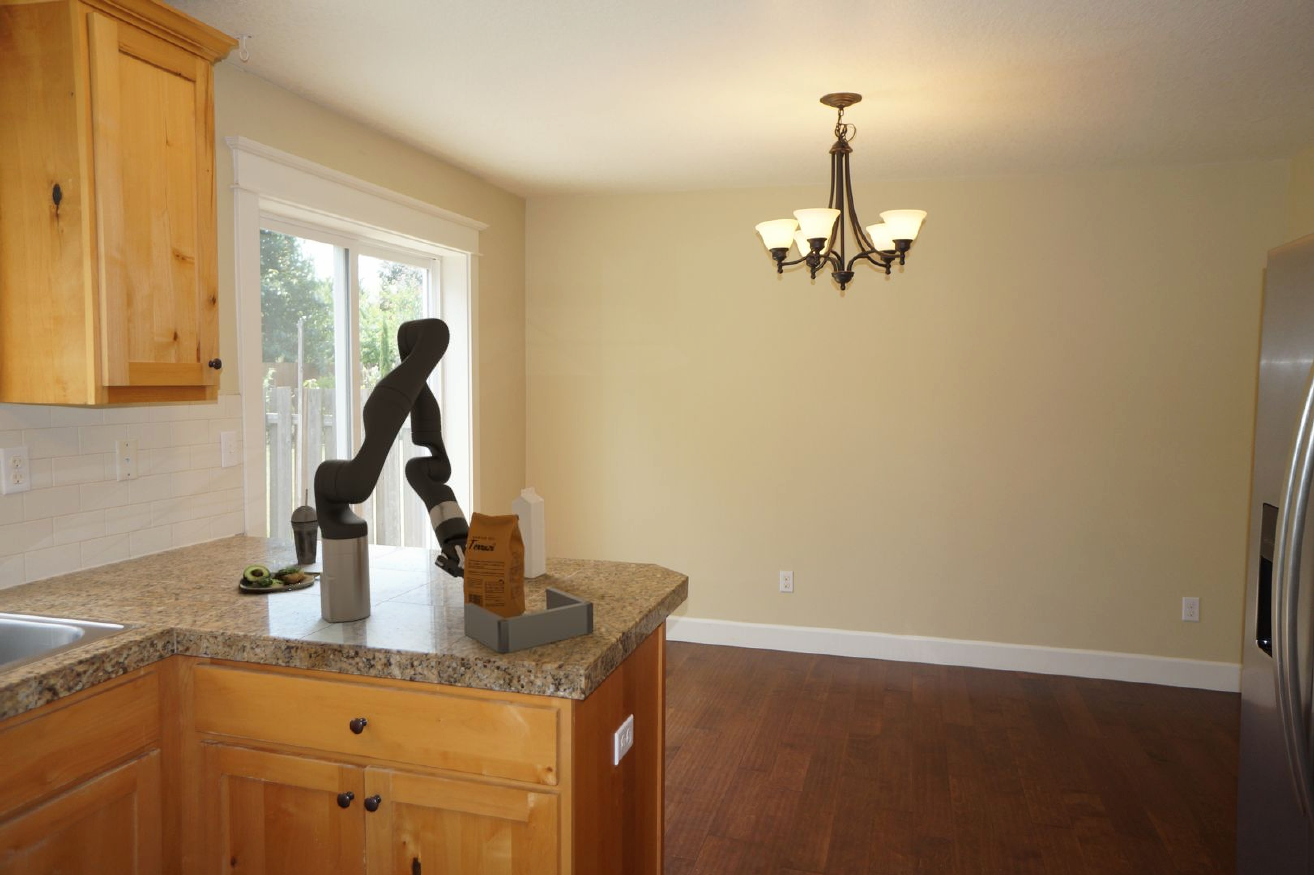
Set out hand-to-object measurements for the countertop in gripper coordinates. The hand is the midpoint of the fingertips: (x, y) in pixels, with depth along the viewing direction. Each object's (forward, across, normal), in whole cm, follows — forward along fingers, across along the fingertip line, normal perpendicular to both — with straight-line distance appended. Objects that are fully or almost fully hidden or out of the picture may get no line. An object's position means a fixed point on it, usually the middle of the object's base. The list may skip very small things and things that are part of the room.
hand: (475, 589), depth 186 cm
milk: (-10, +24, +17) cm, 31 cm away
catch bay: (+19, 0, -14) cm, 23 cm away
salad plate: (-32, -29, +39) cm, 58 cm away
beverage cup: (-46, -16, +53) cm, 72 cm away
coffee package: (+9, 0, -3) cm, 10 cm away
